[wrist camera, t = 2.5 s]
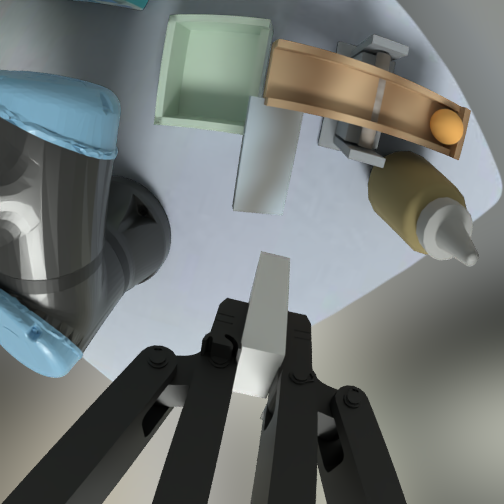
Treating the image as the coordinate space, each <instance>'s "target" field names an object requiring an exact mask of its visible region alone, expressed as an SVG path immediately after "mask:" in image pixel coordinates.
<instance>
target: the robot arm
mask: <svg viewBox="0 0 504 504" xmlns="http://www.w3.org/2000/svg"><path fill="white" fill-rule="evenodd" d="M120 115H121V107H120V103H119V100H118V98H117V96H116V95H115V94H114V93H113V92H112V91H111V90H109V89H107V88H105V87H103V86H100V85H97V84H94V83H91V82H87V81H83V80H79V79H75V78H70V77H65V76H60V75H54V74H47V73H40V72H31V71H8V70H0V344H1V346H2V347H4V349H6V350H7V351H8V352H9V353H10V354H11V355H12V356H13V357H15V358H16V359H17V360H18V361H20V362H21V363H22V364H24V365H25V366H27V367H28V368H30V369H32V370H33V371H35V372H37V373H39V374H42V375H44V376H48V377H54V378H57V377H62V376H64V375H66V374H67V373H68V372H69V371H70V370H71V368H72V367H73V366H74V365H75V363H76V362H77V361H78V360H79V359H81V358H82V356H83V352H84V351H85V349H86V348H87V346H88V345H89V343H90V342H91V340H92V339H93V337H94V336H95V334H96V333H97V331H98V330H99V328H100V327H101V326H102V324H103V323H104V321H105V320H106V318H107V317H108V315H109V314H110V313H111V311H112V310H113V308H114V307H115V305H116V304H117V303H118V301H119V300H120V299H121V297H122V296H123V294H124V293H125V292H126V291H128V290H130V289H131V288H133V287H134V286H135V285H137V284H140V283H143V282H145V281H147V280H148V279H150V278H151V277H152V276H153V275H155V274H156V273H157V271H158V270H159V269H160V267H161V266H162V264H163V263H164V261H165V260H166V258H167V256H168V253H169V250H170V244H171V233H170V227H169V223H168V219H167V217H166V214H165V212H164V210H163V208H162V207H161V205H160V203H159V202H158V201H157V199H156V198H155V197H154V196H153V195H152V194H151V193H150V192H149V191H148V190H147V189H146V188H145V187H143V186H142V185H140V184H139V183H137V182H135V181H133V180H131V179H128V178H124V177H117V176H112V169H113V162H114V159H115V158H116V156H117V153H118V149H117V147H116V142H117V134H118V127H119V121H120ZM289 272H290V258H287V257H283V256H279V255H275V254H270V253H266V252H262V251H261V254H260V258H259V262H258V266H257V270H256V274H255V278H254V282H253V286H252V290H251V294H250V299H249V303H246V302H242V301H238V300H234V299H230V298H226V299H225V300H224V301H223V302H222V303H221V304H220V305H219V308H218V311H217V314H216V317H215V320H214V323H213V326H212V329H211V332H210V333H208V334H206V335H205V337H204V338H203V340H202V347H201V352H199V353H197V354H194V355H189V356H176V355H175V354H174V352H173V351H171V350H170V349H169V348H167V347H164V346H155V345H154V346H150V347H147V348H146V349H144V350H143V351H142V352H141V353H140V354H139V355H138V356H137V357H136V358H135V359H134V360H133V361H132V362H131V363H130V364H129V365H128V366H127V368H126V369H125V370H124V371H123V372H122V373H121V374H120V375H119V376H118V377H117V378H116V379H115V380H114V381H113V382H112V384H111V385H110V386H109V387H108V388H107V389H106V390H105V391H104V392H103V393H102V394H101V395H100V396H99V397H98V399H97V400H96V401H95V402H94V403H93V404H92V405H91V406H90V407H89V408H88V410H86V411H85V413H84V414H83V415H82V416H81V417H80V418H79V419H78V420H77V421H76V422H75V423H74V425H73V426H72V427H71V428H70V429H69V430H68V431H67V432H66V433H65V434H64V435H63V436H62V438H61V439H60V440H59V441H58V442H57V443H56V444H55V445H54V446H53V447H52V448H51V449H50V451H49V452H48V453H47V454H46V455H45V456H44V457H43V458H42V459H41V460H40V462H39V463H38V464H37V465H36V466H35V467H34V468H33V469H32V470H31V471H30V473H29V474H28V475H27V476H26V477H25V478H24V479H23V481H21V483H20V484H19V485H18V486H17V487H16V488H15V490H13V491H12V493H11V494H10V495H9V496H8V497H7V498H6V499H5V501H4V502H3V503H2V504H102V503H103V502H104V500H105V499H106V498H107V496H108V495H109V494H110V492H111V491H112V490H113V489H114V487H115V486H116V485H117V483H118V482H119V481H120V479H121V478H122V477H123V475H124V474H125V473H126V472H127V470H128V469H129V467H130V466H131V465H132V464H133V462H134V461H135V460H136V458H137V457H138V455H139V454H140V453H141V451H142V450H143V449H144V447H145V446H146V445H147V443H148V442H149V441H150V439H151V438H152V437H153V435H154V434H155V433H156V431H157V430H158V428H159V427H160V426H161V424H162V423H163V422H164V420H165V419H166V417H167V416H168V415H169V413H170V412H171V411H172V409H173V408H174V407H183V409H182V412H181V415H180V418H179V421H178V424H177V427H176V430H175V434H174V436H173V439H172V443H171V446H170V449H169V452H168V455H167V458H166V461H165V464H164V467H163V470H162V473H161V477H160V480H159V483H158V486H157V489H156V492H155V496H154V499H153V502H152V504H207V503H208V498H209V494H210V489H211V485H212V481H213V476H214V472H215V467H216V462H217V458H218V454H219V449H220V445H221V440H222V435H223V431H224V426H225V422H226V417H227V413H228V408H229V403H230V399H231V394H232V391H233V392H238V393H242V394H247V395H252V396H256V397H262V398H267V395H268V393H269V395H268V402H267V405H266V407H265V409H264V411H263V413H262V415H261V417H260V419H262V420H263V424H262V431H261V437H260V445H259V452H258V458H257V465H256V472H255V479H254V485H253V491H252V498H251V504H315V503H316V482H317V465H318V468H319V473H320V477H321V481H322V485H323V489H324V493H325V497H326V501H327V504H407V503H406V501H405V497H404V494H403V491H402V489H401V486H400V483H399V480H398V477H397V474H396V471H395V468H394V466H393V463H392V460H391V457H390V455H389V452H388V449H387V446H386V444H385V441H384V439H383V436H382V433H381V431H380V428H379V426H378V423H377V420H376V418H375V415H374V412H373V410H372V407H371V405H370V402H369V400H368V398H367V396H366V394H365V393H364V392H363V391H362V390H361V389H359V388H357V387H355V386H343V387H341V388H340V389H339V390H337V389H334V388H332V387H330V386H327V385H326V384H324V383H322V382H321V381H320V380H318V379H317V377H316V374H315V373H314V371H313V369H312V342H311V323H310V321H309V320H308V318H307V316H306V315H303V314H298V313H293V312H289V311H288V295H289Z"/></svg>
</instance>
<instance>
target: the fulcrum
mask: <svg viewBox="0 0 504 504" xmlns="http://www.w3.org/2000/svg"><path fill="white" fill-rule="evenodd" d="M408 51H409V47H408V46H405V45H403V44H400V43H397V42H395V41H392V40H389V39H386V38H383V37H381V36H378V35H374V34H373V35H372V36H371V37H369V38H368V39H367V40H365V41H364V42H363V43H361V44H360V45H359V46H354V45H351V44H347V43H343V42H340V41H339V42H338V45H337V51H336V53H337V54H340V55H343V56H347V57H350V58H353V59H356V60H359V61H361V62H364V63H367V64H370V65H373V66H375V62H376V56H377V52H380V53H385V54H388V55H390V56H391V61H390V66H389V72H390V73H394V67H395V62H393V61H392V60H395V59H399V58H402V57H405V56H408ZM361 130H362V126H358V125H354V124H351V123H347V122H343V121H339V120H335V119H331V118H326V117H324V118H323V123H322V128H321V132H320V137H319V142H318V146H322V147H326V148H330V149H334V150H338V151H342V152H343V153H344V154H345V156H346V157H347V158H348V159H352V160H355V161H359V162H363V163H367V164H370V165H374V166H377V167H381V168H383V167H384V163H385V160H386V159H385V158H384V157H382V156H381V155H379V154H378V153H376V152H375V151H373V149H377V147H378V142H379V138H380V134H381V132H379V131H376V134H375V138H374V142H373V146H372V149H367V148H364V147H361V146H358V143H359V139H360V135H361Z"/></svg>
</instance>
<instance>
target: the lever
mask: <svg viewBox="0 0 504 504" xmlns="http://www.w3.org/2000/svg"><path fill="white" fill-rule="evenodd" d="M390 61H391V56H390V55H388V54H385V53H380V52H377V56H376V62H375V66H373V65H370V64H367V63H364V62H361V61H359V60H356V59H353V58H350V57H347V56H343V55H340V54H337V53H334V52H330V51H327V50H323V49H320V48H316V47H312V46H308V45H305V44H300V43H296V42H292V41H287V40H283V39H278V40H276V41H275V42H273V43H272V48H271V53H270V59H269V65H268V70H267V76H266V81H265V87H264V93H263V98H261V97H254V96H249V101H248V107H247V113H246V119H245V126H244V132H243V138H242V145H241V151H240V157H239V164H238V171H237V177H236V184H235V191H234V198H233V205H232V207H233V211H240V212H251V213H262V214H272V215H283V210H284V205H285V201H286V196H287V191H288V187H289V182H290V177H291V172H292V167H293V163H294V158H295V153H296V148H297V143H298V138H299V133H300V128H301V123H302V118H303V113H308V114H313V115H318V116H322V117H326V118H331V119H335V120H339V121H343V122H347V123H351V124H354V125H358V126H362V130H361V135H360V139H359V143H358V146H361V147H364V148H367V149H372V146H373V142H374V138H375V134H376V131H379V132H382V133H385V134H389V135H392V136H395V137H398V138H401V139H404V140H407V141H410V142H413V143H416V144H419V145H421V146H424V147H427V148H429V149H432V150H435V151H437V152H440V153H442V154H445V155H447V156H450V157H452V158H454V159H457V160H459V158H460V154H461V150H462V146H463V142H464V139H465V134H466V130H467V126H468V121H469V117H470V112H471V111H470V110H469V109H467V108H465V107H461V106H459V105H457V104H455V103H454V102H452V101H450V100H448V99H446V98H444V97H442V96H440V95H438V94H437V93H435V92H433V91H431V90H428V89H426V88H424V87H422V86H420V85H418V84H416V83H414V82H411V81H409V80H407V79H405V78H402V77H400V76H398V75H395V74H393V73H390V72H389V66H390ZM440 109H449V110H452V111H453V112H455V113H456V114H457V115H458V116H459V117H460V119H461V120H462V123H463V128H464V130H463V135H462V137H461V139H460V140H459V141H458V142H457V143H455V144H451V145H447V144H443V143H441V142H439V141H438V140H437V139H436V138H435V137H434V136H433V134H432V132H431V129H430V120H431V117H432V115H433V114H434V113H435V112H436V111H438V110H440Z"/></svg>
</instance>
